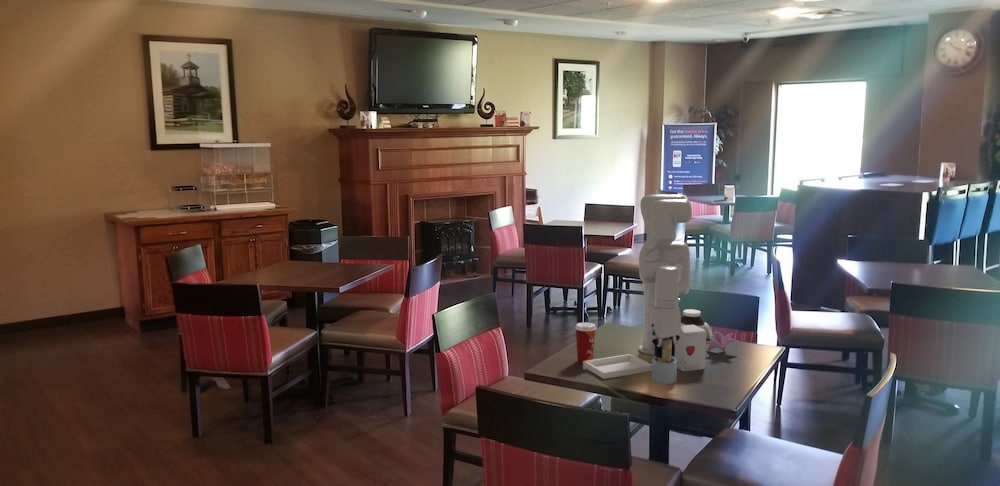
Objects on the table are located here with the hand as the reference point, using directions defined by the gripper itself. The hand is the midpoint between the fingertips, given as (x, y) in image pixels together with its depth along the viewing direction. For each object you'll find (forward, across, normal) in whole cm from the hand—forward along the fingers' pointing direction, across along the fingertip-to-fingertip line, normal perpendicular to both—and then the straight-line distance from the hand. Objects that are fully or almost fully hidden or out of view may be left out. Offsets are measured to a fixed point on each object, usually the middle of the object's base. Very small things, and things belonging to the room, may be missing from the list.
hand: (664, 355), depth 244 cm
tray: (+9, +8, -16) cm, 20 cm away
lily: (+10, -38, -16) cm, 42 cm away
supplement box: (+10, -16, -8) cm, 20 cm away
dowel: (+8, 0, 0) cm, 8 cm away
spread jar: (+10, -42, -36) cm, 57 cm away
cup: (+9, 0, 0) cm, 9 cm away
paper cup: (+10, +13, -30) cm, 34 cm away
